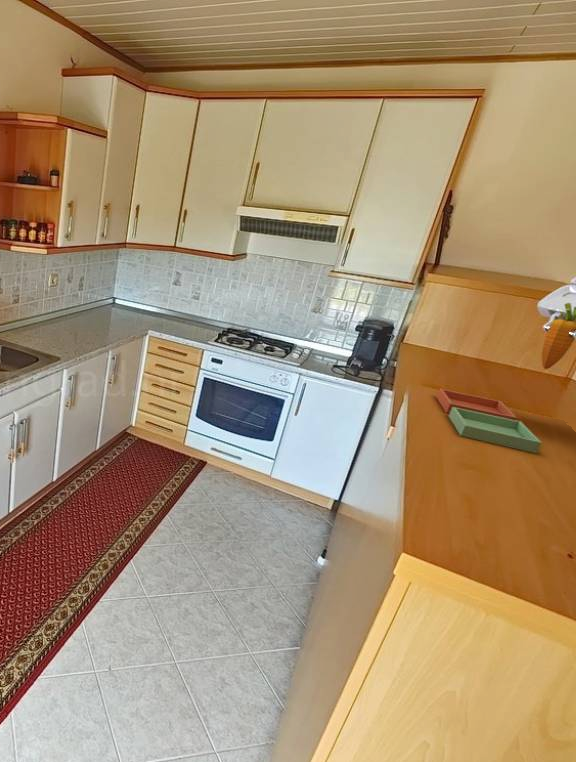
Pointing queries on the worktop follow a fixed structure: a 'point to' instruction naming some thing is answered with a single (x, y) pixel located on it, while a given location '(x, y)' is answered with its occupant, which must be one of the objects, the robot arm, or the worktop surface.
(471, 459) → the worktop surface
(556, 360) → the carrot
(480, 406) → the terracotta tray
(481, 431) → the green tray
